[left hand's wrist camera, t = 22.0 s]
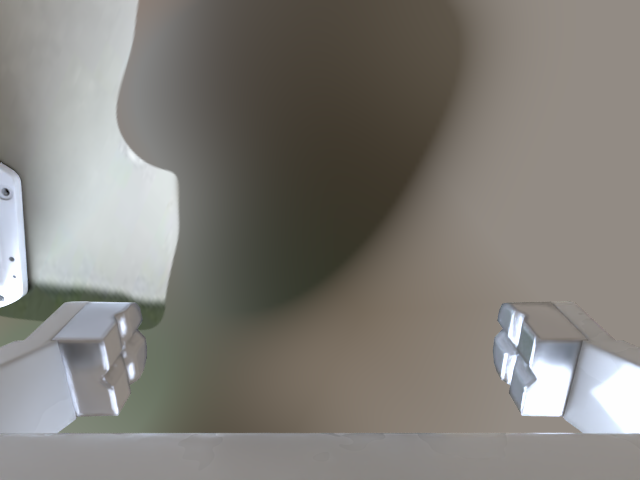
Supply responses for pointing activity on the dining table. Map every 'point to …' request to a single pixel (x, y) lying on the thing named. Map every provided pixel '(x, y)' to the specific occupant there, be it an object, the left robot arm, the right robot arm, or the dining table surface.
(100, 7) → the dining table surface
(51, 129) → the dining table surface
